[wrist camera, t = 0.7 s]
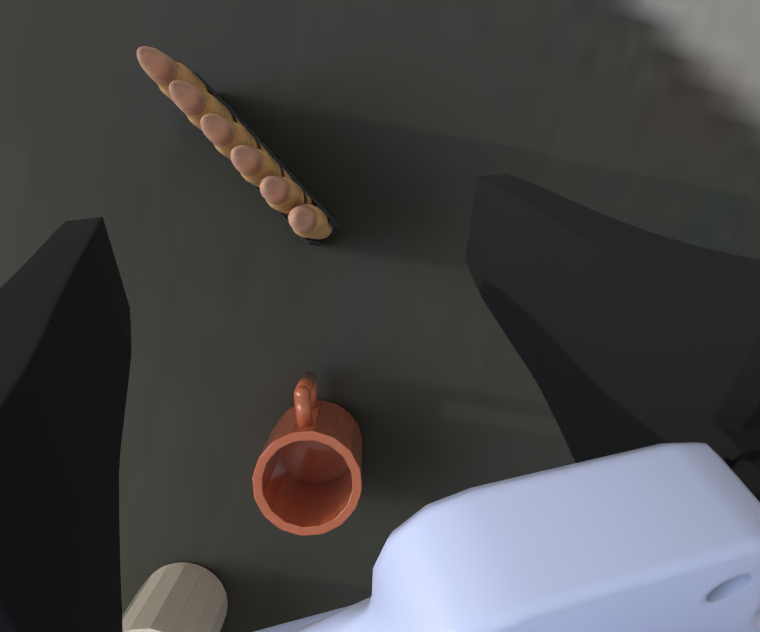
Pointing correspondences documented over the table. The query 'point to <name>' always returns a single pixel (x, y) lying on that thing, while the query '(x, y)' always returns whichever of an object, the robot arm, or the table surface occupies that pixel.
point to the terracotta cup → (310, 465)
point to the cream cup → (178, 601)
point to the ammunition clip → (240, 146)
